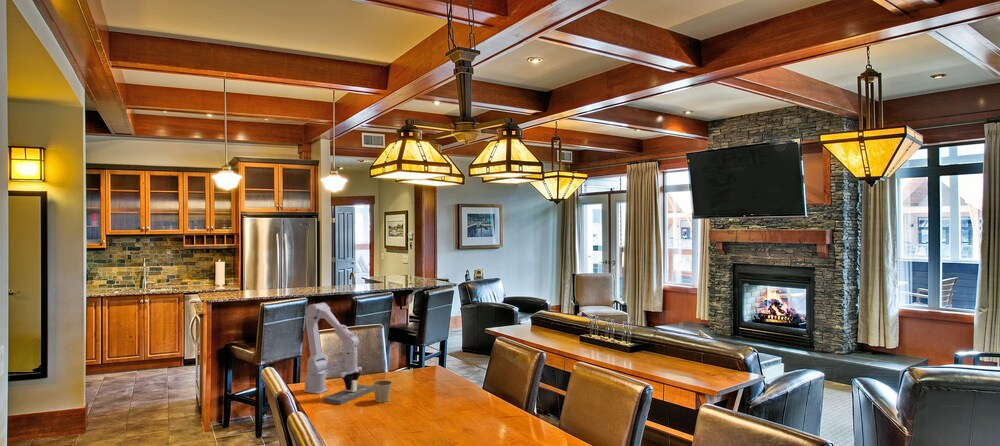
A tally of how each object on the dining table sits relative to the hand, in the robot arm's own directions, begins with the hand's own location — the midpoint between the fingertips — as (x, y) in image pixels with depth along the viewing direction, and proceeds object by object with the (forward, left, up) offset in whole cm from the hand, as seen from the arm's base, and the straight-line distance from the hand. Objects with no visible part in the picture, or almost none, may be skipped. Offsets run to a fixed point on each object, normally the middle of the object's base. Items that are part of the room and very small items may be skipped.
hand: (350, 388), depth 281 cm
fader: (0, 0, -1) cm, 1 cm away
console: (0, -1, -3) cm, 3 cm away
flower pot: (+19, -1, -4) cm, 19 cm away
